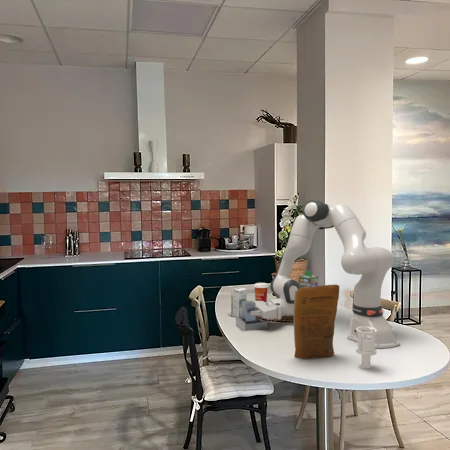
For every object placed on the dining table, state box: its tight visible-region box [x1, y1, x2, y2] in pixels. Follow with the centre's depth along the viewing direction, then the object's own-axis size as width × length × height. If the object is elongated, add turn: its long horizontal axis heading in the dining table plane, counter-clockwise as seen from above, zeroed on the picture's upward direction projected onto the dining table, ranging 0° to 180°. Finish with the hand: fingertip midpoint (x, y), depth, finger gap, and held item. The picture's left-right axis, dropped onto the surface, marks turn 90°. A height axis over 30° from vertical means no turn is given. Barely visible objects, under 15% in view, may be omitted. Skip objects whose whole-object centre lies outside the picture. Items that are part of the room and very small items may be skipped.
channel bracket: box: [235, 316, 268, 332], centre depth 208 cm, size 12×10×4 cm
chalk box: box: [298, 270, 319, 288], centre depth 275 cm, size 9×9×15 cm
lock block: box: [241, 300, 257, 324], centre depth 207 cm, size 5×6×12 cm
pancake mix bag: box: [293, 284, 340, 360], centre depth 168 cm, size 7×19×28 cm, turn 101°
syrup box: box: [230, 286, 248, 318], centre depth 226 cm, size 6×6×14 cm
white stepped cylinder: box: [355, 327, 377, 370], centre depth 158 cm, size 7×7×15 cm
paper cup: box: [253, 282, 269, 302], centre depth 239 cm, size 8×8×14 cm
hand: (246, 310), depth 207 cm, fingers open, 8 cm apart
